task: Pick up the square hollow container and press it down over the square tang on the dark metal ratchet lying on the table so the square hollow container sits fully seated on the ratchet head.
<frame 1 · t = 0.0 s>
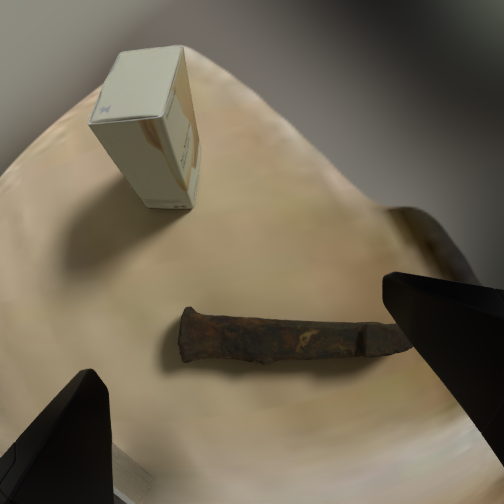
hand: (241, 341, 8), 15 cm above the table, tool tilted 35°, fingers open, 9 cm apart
skincare box: (175, 176, 24), on the table
square hollow container: (119, 472, 18), on the table
hand tool: (303, 330, 23), on the table
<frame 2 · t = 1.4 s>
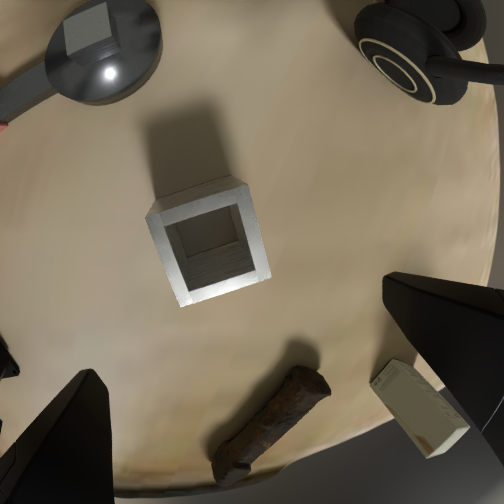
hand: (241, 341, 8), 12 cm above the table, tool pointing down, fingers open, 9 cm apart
skincare box: (392, 374, 30), on the table
ratchet: (108, 54, 13), on the table
square hollow container: (204, 223, 19), on the table
hand tool: (256, 422, 27), on the table
headphones: (389, 40, 17), on the table
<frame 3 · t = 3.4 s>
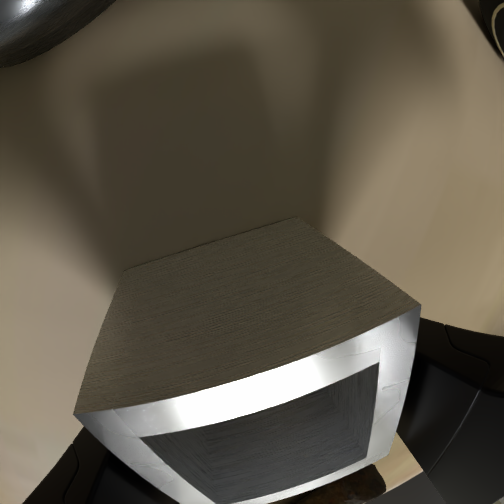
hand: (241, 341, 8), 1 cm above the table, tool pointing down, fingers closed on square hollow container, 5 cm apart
square hollow container: (234, 317, 9), on the table, touching gripper
headphones: (497, 18, 7), on the table
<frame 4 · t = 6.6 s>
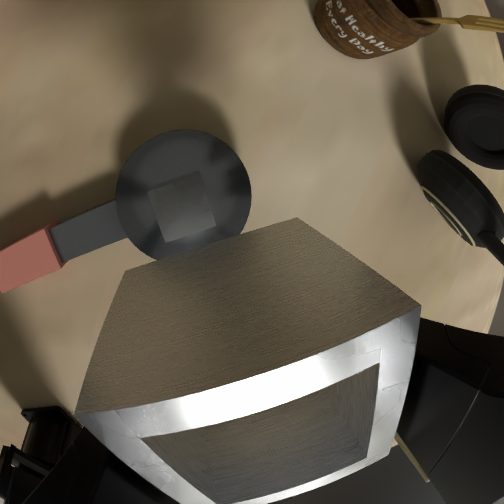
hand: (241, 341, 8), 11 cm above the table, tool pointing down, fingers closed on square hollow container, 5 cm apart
skincare box: (402, 413, 33), on the table
ratchet: (183, 192, 17), on the table
square hollow container: (234, 318, 9), point 10 cm above the table, touching gripper
headphones: (440, 155, 20), on the table
utensil holder: (348, 28, 15), on the table
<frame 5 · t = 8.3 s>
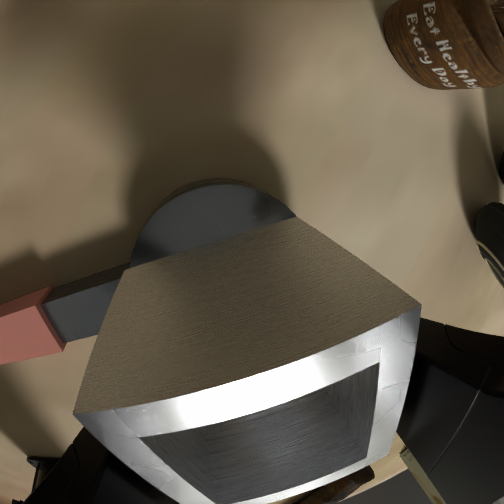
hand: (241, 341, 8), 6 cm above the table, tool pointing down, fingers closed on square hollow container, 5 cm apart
skincare box: (417, 444, 30), on the table
ratchet: (218, 259, 13), on the table
square hollow container: (234, 317, 9), point 5 cm above the table, touching gripper
hand tool: (313, 490, 27), on the table
headphones: (492, 199, 16), on the table
utensil holder: (417, 47, 11), on the table
when the fingers open (4 cm above the table, at t = 9.8 s): square hollow container stays where it is, resting on ratchet.
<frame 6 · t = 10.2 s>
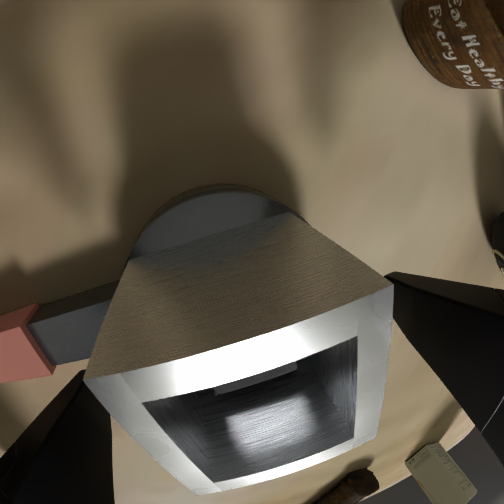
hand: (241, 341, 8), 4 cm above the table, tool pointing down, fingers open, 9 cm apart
skincare box: (422, 451, 28), on the table
ratchet: (222, 275, 12), on the table, touching square hollow container
square hollow container: (230, 306, 9), point 2 cm above the table, touching ratchet
hand tool: (318, 499, 26), on the table
utensil holder: (436, 43, 10), on the table
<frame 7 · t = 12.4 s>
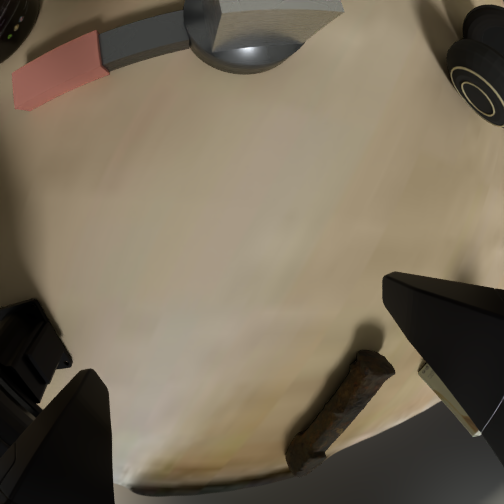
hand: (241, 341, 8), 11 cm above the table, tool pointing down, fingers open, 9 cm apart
skincare box: (434, 364, 30), on the table
ratchet: (242, 25, 14), on the table, touching square hollow container
square hollow container: (249, 10, 11), point 2 cm above the table, touching ratchet
hand tool: (325, 410, 28), on the table
headphones: (462, 65, 17), on the table
supplement bottle: (7, 30, 9), on the table
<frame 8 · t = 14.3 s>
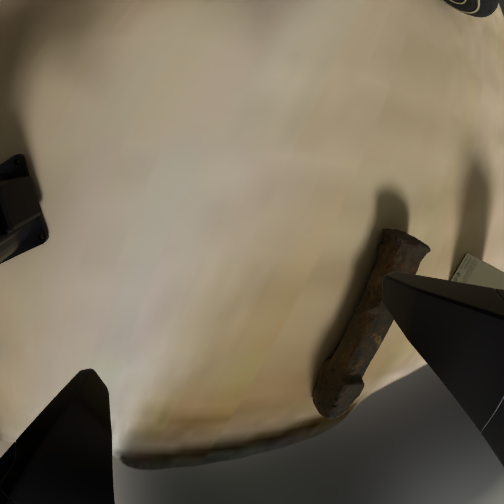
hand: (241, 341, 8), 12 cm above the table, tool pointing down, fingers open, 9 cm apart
skincare box: (464, 278, 27), on the table
hand tool: (355, 323, 25), on the table
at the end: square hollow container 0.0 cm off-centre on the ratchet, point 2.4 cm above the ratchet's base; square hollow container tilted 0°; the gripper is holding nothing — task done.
